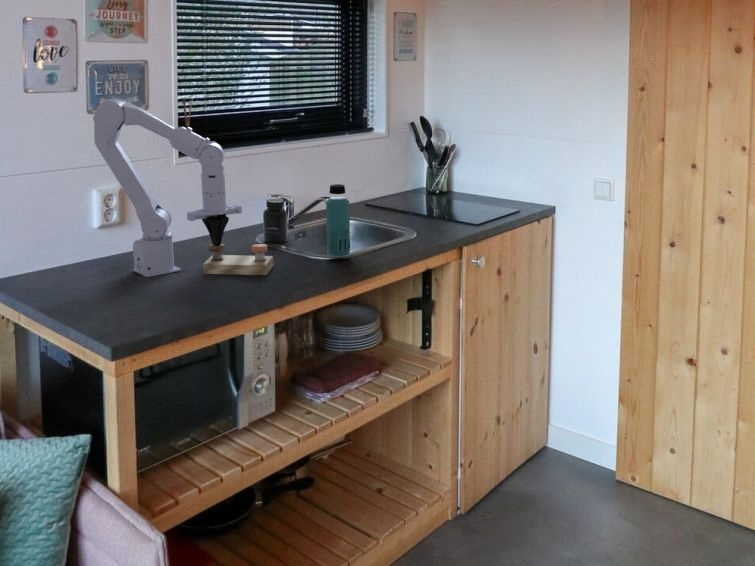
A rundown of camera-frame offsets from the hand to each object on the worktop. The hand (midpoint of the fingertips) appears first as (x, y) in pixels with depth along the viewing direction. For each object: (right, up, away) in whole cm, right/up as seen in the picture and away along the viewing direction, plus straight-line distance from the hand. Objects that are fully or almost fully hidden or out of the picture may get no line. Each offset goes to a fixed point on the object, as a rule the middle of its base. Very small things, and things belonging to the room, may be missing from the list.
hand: (216, 244), depth 217 cm
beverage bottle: (+31, -3, +12) cm, 33 cm away
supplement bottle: (+12, +2, +30) cm, 32 cm away
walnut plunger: (0, -4, +1) cm, 4 cm away
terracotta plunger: (+11, -4, 0) cm, 12 cm away
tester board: (+6, -6, +1) cm, 9 cm away
